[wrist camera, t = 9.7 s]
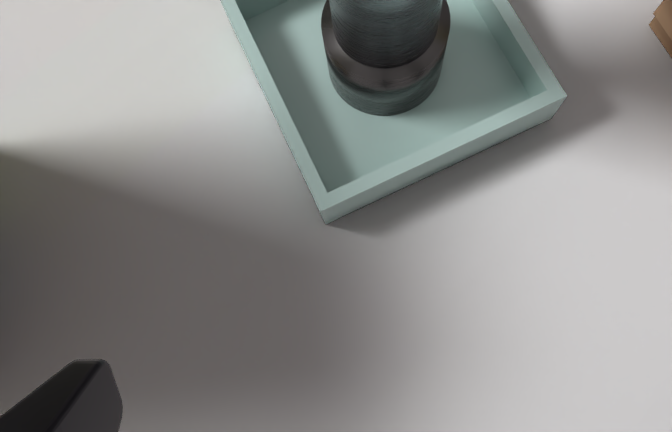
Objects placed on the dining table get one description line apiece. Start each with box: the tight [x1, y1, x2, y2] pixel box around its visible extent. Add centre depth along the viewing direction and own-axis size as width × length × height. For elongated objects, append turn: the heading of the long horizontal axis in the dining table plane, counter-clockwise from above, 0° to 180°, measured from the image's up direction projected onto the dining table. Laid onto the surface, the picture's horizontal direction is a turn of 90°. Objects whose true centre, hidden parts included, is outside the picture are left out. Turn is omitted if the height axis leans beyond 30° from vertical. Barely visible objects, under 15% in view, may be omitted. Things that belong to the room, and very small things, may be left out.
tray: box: [220, 0, 567, 224], centre depth 23 cm, size 10×10×2 cm
